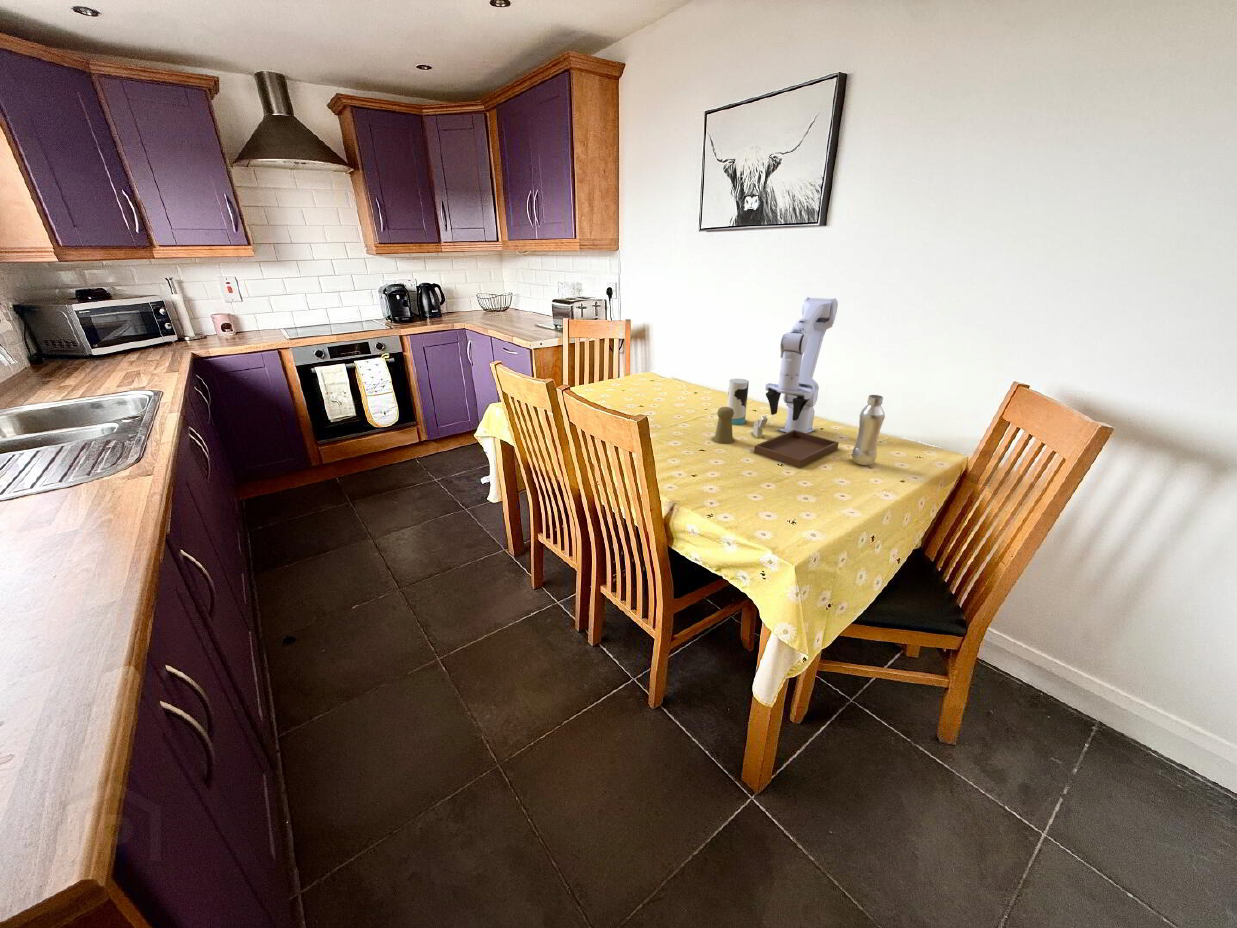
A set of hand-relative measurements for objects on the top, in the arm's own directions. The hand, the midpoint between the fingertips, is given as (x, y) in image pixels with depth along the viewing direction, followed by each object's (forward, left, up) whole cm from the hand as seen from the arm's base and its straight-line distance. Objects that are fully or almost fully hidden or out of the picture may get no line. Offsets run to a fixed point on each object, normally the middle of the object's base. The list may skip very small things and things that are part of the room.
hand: (784, 416), depth 155 cm
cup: (-8, -24, -10) cm, 27 cm away
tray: (+1, +6, -9) cm, 11 cm away
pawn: (+10, -15, -10) cm, 20 cm away
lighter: (-1, -9, -10) cm, 13 cm away
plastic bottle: (-5, +24, -10) cm, 26 cm away
